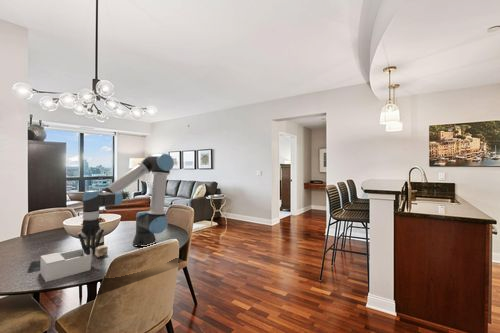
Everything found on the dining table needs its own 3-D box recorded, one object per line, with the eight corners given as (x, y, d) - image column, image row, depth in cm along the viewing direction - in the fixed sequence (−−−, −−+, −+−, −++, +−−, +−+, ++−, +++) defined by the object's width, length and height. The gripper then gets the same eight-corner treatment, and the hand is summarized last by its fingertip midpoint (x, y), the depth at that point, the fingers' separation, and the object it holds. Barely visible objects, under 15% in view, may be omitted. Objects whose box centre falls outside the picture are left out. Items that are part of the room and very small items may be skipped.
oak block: (104, 252, 146) (104, 244, 146) (107, 254, 143) (107, 246, 143) (95, 255, 142) (95, 246, 142) (98, 257, 139) (98, 248, 139)
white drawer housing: (82, 262, 131) (83, 247, 131) (90, 269, 122) (91, 253, 122) (40, 272, 117) (40, 255, 117) (45, 282, 108) (46, 263, 108)
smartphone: (26, 272, 116) (31, 262, 128) (26, 274, 116) (31, 263, 128) (46, 268, 121) (48, 259, 133) (46, 270, 121) (48, 260, 133)
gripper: (101, 215, 135) (100, 256, 135) (75, 219, 125) (74, 262, 125) (106, 217, 130) (105, 259, 130) (79, 221, 120) (78, 266, 121)
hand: (90, 261), depth 128 cm, fingers closed
